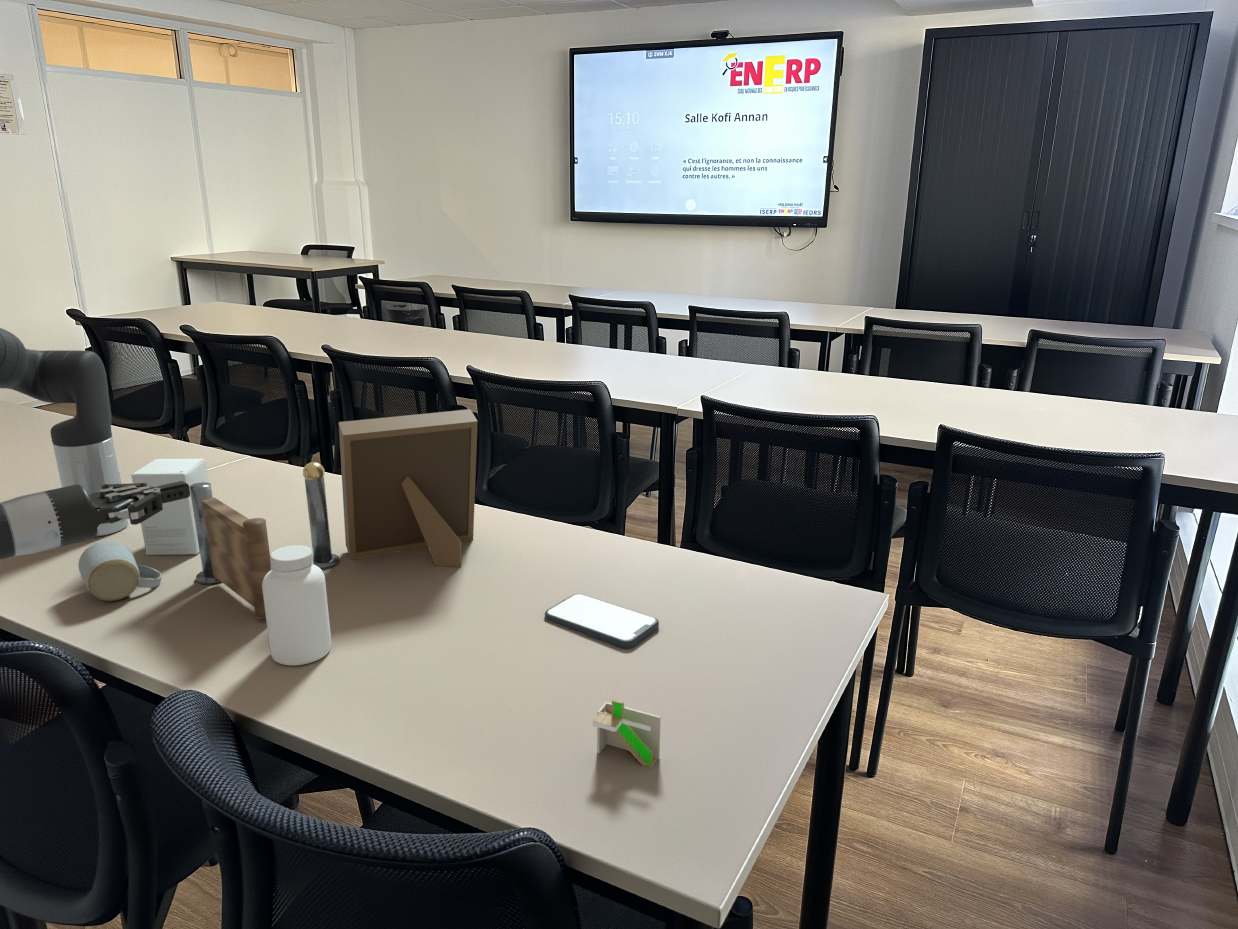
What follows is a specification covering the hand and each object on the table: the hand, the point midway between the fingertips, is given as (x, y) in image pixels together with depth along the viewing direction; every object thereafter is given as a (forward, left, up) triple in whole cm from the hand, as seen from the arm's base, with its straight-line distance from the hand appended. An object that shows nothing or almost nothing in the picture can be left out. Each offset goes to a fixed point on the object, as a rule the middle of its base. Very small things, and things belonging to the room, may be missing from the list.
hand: (187, 488), depth 122 cm
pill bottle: (+13, +17, -20) cm, 29 cm away
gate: (-3, +5, -19) cm, 20 cm away
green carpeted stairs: (+39, +60, -20) cm, 74 cm away
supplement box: (-26, -13, -20) cm, 35 cm away
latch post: (-16, +14, -20) cm, 29 cm away
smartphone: (+8, +59, -20) cm, 63 cm away
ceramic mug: (-8, -15, -20) cm, 27 cm away
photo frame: (-18, +29, -20) cm, 40 cm away
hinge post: (-12, -3, -20) cm, 23 cm away
